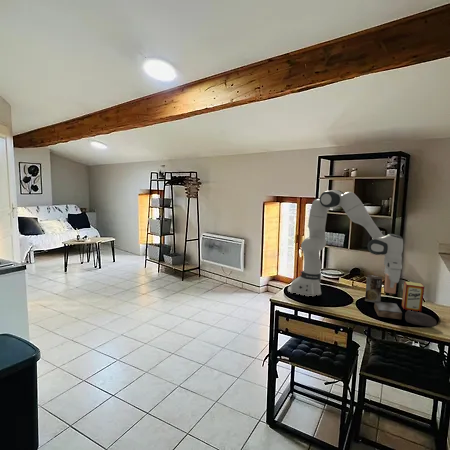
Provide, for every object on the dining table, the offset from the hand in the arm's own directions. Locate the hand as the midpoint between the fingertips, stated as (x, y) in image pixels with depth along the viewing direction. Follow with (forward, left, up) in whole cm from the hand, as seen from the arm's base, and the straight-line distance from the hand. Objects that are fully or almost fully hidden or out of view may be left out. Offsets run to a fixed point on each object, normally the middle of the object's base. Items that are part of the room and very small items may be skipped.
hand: (390, 285), depth 188 cm
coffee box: (-5, +19, -17) cm, 26 cm away
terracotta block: (0, 0, -4) cm, 4 cm away
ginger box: (+16, +13, -17) cm, 27 cm away
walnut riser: (0, 0, -17) cm, 17 cm away
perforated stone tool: (+14, -11, -17) cm, 25 cm away
